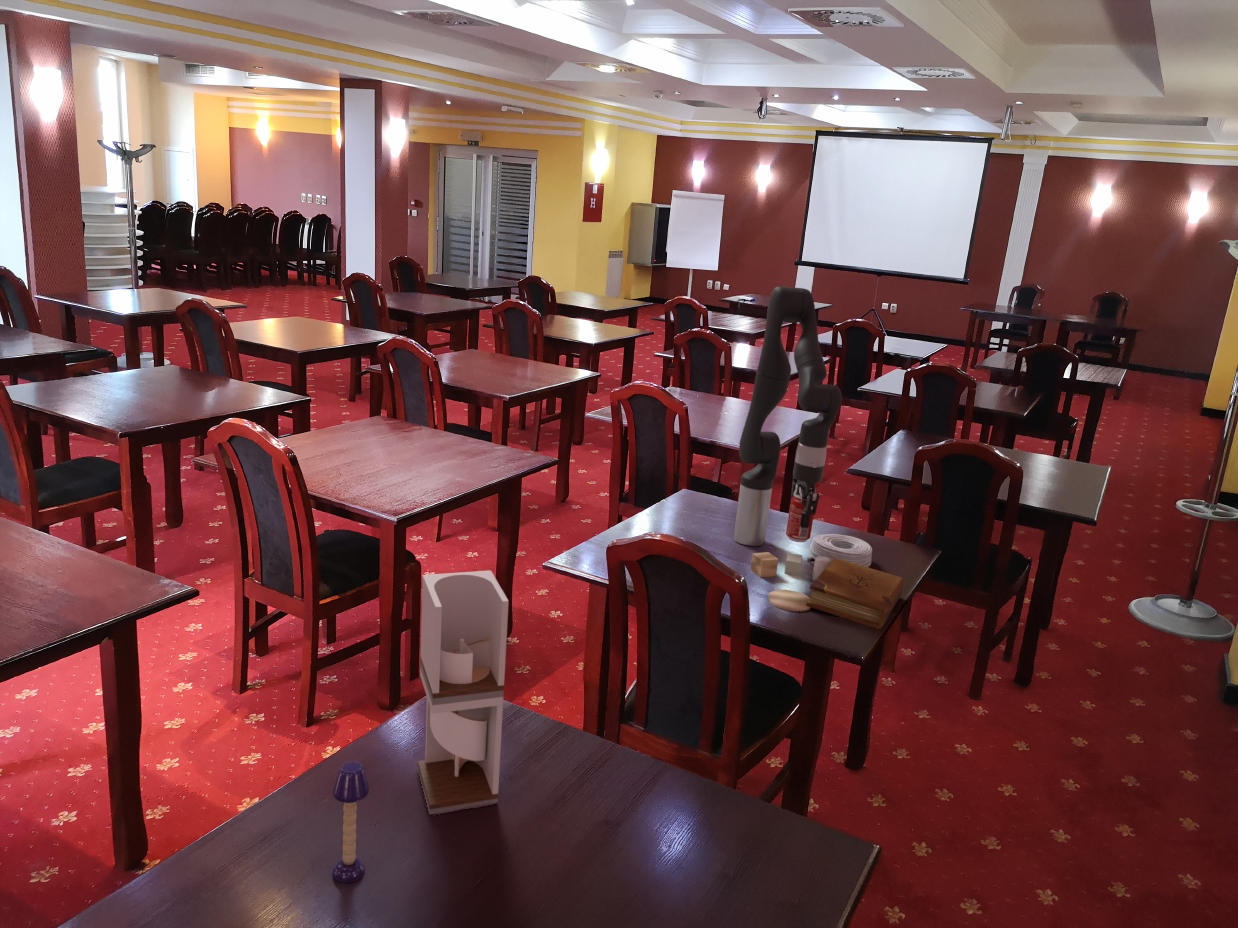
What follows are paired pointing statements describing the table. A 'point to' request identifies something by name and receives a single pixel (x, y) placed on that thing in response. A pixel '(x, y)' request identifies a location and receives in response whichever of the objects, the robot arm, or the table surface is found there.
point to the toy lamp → (350, 819)
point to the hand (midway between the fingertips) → (800, 522)
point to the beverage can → (797, 522)
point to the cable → (841, 549)
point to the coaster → (789, 600)
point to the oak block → (764, 564)
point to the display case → (462, 687)
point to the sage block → (793, 564)
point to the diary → (856, 593)
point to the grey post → (819, 566)
